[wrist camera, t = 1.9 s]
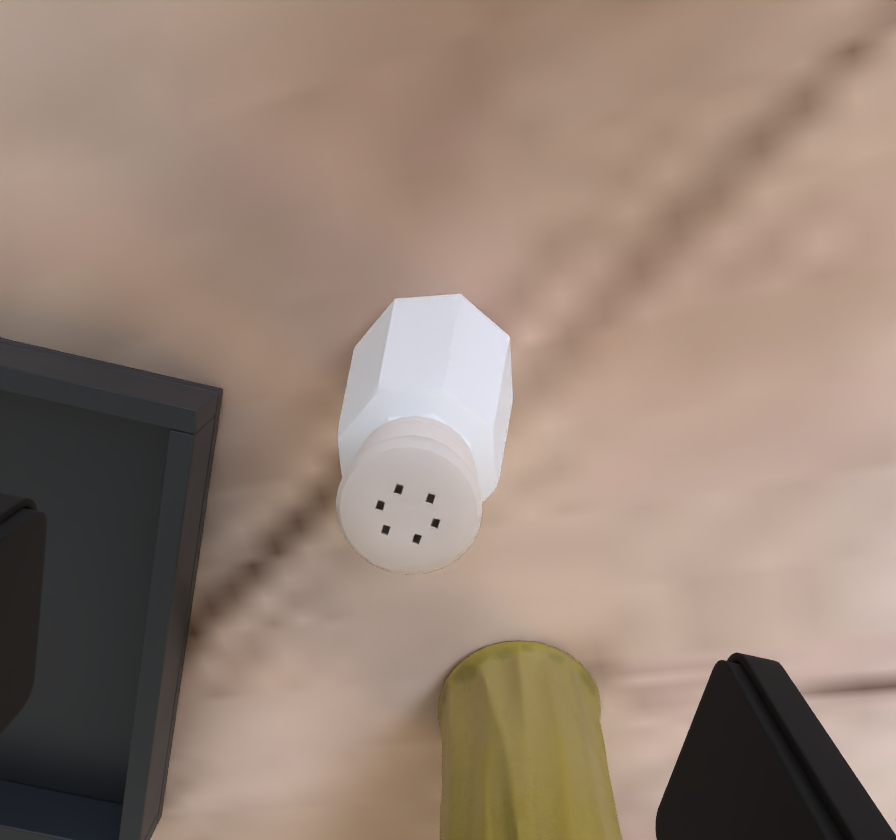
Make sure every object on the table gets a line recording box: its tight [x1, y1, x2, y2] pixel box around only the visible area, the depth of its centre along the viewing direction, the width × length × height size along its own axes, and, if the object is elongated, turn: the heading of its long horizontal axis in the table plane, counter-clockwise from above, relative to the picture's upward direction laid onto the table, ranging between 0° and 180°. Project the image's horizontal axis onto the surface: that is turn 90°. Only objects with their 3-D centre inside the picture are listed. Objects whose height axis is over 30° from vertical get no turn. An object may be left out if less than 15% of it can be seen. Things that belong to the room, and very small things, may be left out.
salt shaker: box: [336, 294, 513, 575], centre depth 19 cm, size 5×5×11 cm
